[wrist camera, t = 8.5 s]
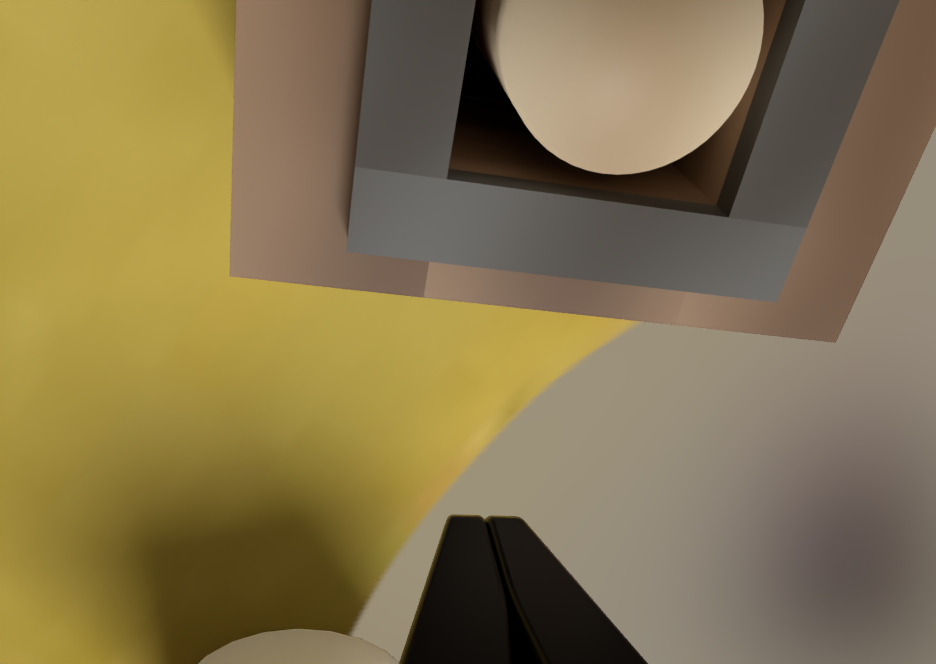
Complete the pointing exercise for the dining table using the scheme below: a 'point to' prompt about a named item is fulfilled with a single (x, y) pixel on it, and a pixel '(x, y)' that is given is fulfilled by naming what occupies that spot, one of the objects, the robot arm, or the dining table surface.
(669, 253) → the walnut block
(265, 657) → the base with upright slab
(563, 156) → the peg
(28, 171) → the dining table surface
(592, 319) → the dining table surface
